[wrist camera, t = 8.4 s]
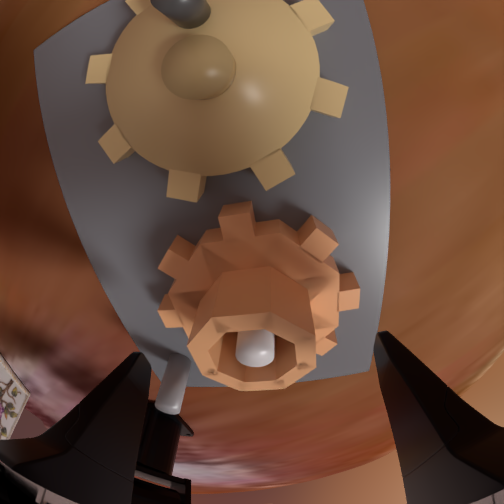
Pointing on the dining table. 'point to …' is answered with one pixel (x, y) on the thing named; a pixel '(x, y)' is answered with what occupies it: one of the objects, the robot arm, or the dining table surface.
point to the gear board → (219, 151)
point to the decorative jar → (10, 399)
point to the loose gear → (257, 295)
